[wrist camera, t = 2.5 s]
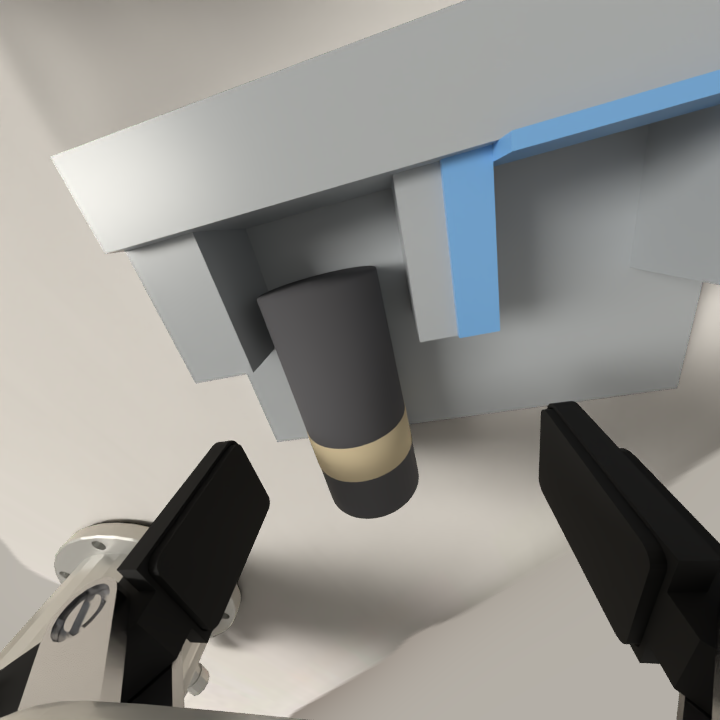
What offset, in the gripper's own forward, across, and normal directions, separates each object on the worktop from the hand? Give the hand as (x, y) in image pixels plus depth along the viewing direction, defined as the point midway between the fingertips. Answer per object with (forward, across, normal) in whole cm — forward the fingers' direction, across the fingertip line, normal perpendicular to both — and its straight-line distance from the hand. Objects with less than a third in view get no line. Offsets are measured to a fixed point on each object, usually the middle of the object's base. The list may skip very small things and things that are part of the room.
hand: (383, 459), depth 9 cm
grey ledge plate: (+4, -3, -4) cm, 7 cm away
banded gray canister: (+4, +1, -1) cm, 4 cm away
